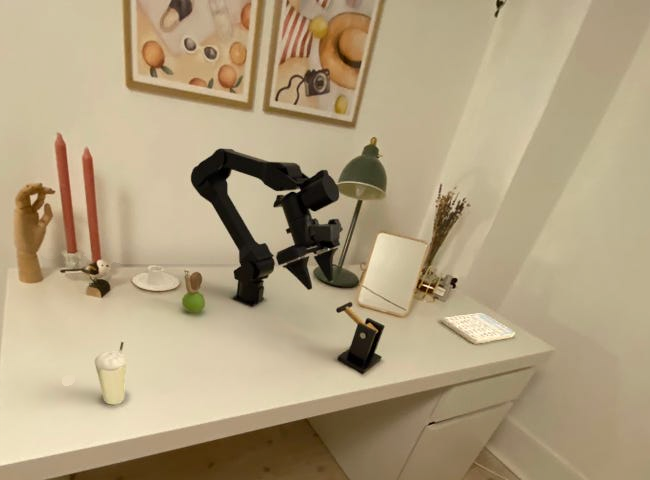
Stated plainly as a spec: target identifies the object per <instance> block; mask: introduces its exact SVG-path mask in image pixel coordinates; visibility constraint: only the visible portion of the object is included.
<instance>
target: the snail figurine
mask: <svg viewBox="0 0 650 480" xmlns="http://www.w3.org/2000/svg"><path fill="white" fill-rule="evenodd" d="M183 271H184V273H185V274H184V280H185V281H184V282H185V288H186V291H187V292H186V293H185V294H184V295H183V297H182V300H181V301H182V302H181V303H182V306H183V308H184V309H185V310H186V311H187V312H188V313H191V314H197V313H200V312H202V311H203V309H204V308H205V306H206V299H205V297H204V295H203V294H202V293H201V292H199V291H200V289H201V285H202V282H203V275H202V273H201V272H199V271H195V272H193V273H191V275H190V270H187V269H184V270H183Z"/></svg>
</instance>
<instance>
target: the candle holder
mask: <svg viewBox="0 0 650 480" xmlns="http://www.w3.org/2000/svg"><path fill="white" fill-rule="evenodd" d="M146 271H147V272H141V273H138V274H136V275H134V277H132V282H133V284H134V285H135V286H136V287H138V288H141V289H144V290H148V291H153V292H154V291H156V292H164V291H170V290H173V289H175V288H177V287H179V286H180V283H181V282H180V280H179V279H178V278H177V277H176V276H175V275H172V274H170V273H166V272H165V268H164V267H163V266H160V265H154V264H153V265H149V266H148V267H147V270H146Z"/></svg>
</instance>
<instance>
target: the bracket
mask: <svg viewBox="0 0 650 480" xmlns="http://www.w3.org/2000/svg"><path fill="white" fill-rule="evenodd" d="M364 323H365V324H366V325H367V324H368V323H371V324H372V325H373V326H374V327H375V328H376V329H377V330H378V332H377V331H376V330H374V329H372V328H370V327H368V326H366V325H364V324H361V323H358V324H357V325H356V328H355V331H354V334H353V337H352V340H351V344H350V346H349V348H348V349H347V350H345V351H344V352H342V353H341V354H339V355H338V356H337V361H338V362H340V363H342V364H344V365H345V366H346V367H348V368H351V369H352V370H354V371H355V372H357V373H359V374H361V375H364V374H365V373H366V372H368V371H369V370H370V369H371V368H373V367H374V366H375V365H377V364H378V363H380V361H381V360H382V355H380V354H379V353H376V351H377V348H378V345H379V343H380V341H381V338H382V334H383V332H384V330H385V325H384V324H382V323H380V322H378V321H376V320H374V319H372V318H369V317H366V319H365V321H364ZM376 332H377V334H376Z"/></svg>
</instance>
